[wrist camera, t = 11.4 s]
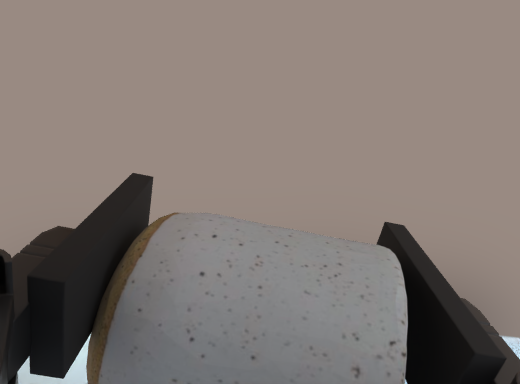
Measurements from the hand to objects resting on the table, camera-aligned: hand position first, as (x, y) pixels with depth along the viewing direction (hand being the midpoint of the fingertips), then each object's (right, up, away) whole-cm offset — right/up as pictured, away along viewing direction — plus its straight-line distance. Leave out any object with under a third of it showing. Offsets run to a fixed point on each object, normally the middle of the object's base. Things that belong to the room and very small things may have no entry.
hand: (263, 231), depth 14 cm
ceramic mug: (-1, -7, -2) cm, 8 cm away
